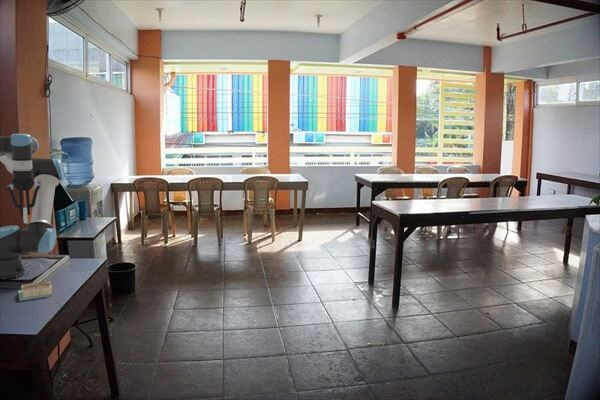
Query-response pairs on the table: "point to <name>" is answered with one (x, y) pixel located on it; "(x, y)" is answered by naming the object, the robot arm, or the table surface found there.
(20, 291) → the mat
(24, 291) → the slab
